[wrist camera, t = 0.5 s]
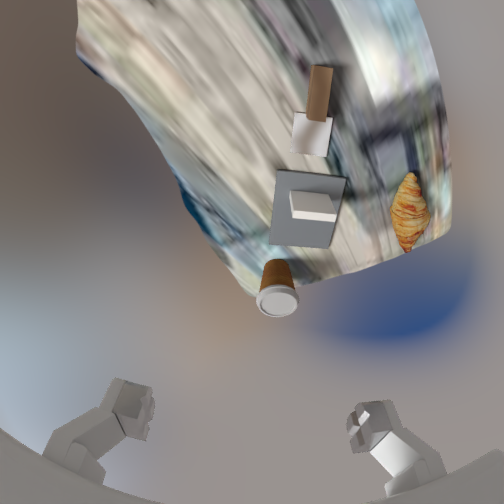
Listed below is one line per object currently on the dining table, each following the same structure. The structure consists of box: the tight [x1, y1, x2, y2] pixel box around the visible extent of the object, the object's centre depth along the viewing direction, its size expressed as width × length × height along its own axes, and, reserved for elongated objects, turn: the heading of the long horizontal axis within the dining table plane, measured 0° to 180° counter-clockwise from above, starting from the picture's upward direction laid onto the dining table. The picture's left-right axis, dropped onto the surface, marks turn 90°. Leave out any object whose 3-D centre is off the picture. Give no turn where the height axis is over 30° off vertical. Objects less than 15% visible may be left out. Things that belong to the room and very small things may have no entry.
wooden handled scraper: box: [290, 65, 333, 157], centre depth 42 cm, size 7×18×4 cm, turn 177°
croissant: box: [390, 172, 431, 253], centre depth 53 cm, size 21×10×8 cm, turn 17°
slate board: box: [269, 169, 346, 249], centre depth 57 cm, size 18×14×1 cm
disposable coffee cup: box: [256, 259, 299, 317], centre depth 63 cm, size 10×10×12 cm
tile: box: [289, 190, 337, 222], centre depth 51 cm, size 2×8×8 cm, turn 87°
